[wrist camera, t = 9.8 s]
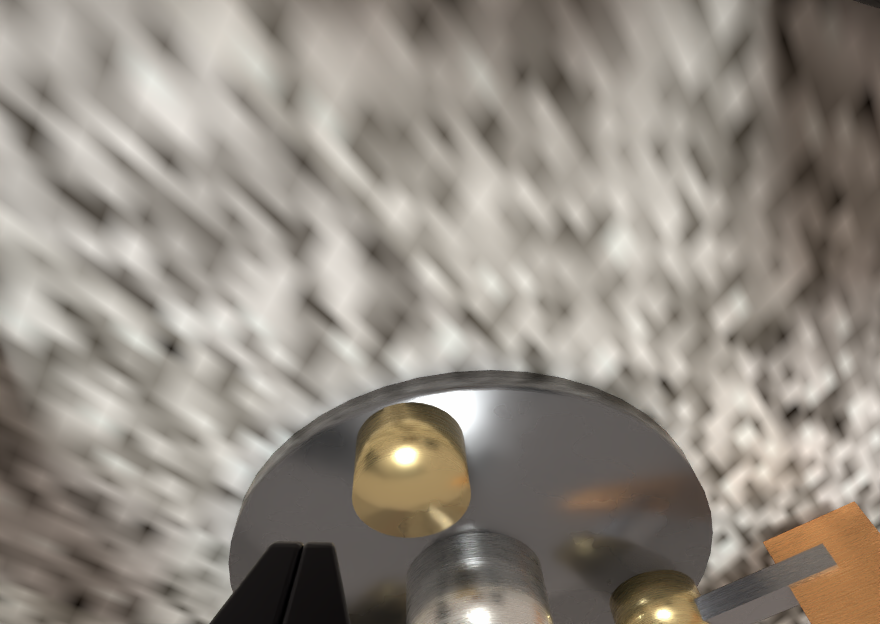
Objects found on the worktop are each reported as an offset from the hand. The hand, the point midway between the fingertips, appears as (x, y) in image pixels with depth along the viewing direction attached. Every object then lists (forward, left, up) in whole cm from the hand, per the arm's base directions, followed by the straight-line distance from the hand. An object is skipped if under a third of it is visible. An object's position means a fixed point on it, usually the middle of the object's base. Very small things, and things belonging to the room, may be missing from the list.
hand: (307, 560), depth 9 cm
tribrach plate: (+2, -17, -13) cm, 22 cm away
